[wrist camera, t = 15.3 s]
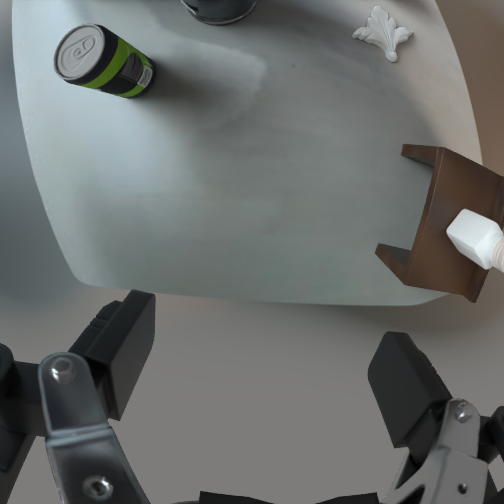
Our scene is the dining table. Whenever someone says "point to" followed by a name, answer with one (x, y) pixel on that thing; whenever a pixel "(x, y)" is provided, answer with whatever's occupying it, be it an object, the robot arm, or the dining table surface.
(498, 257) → the salt shaker
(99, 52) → the beverage can
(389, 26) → the acanthus leaf ornament
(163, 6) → the dining table surface
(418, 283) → the wooden table
